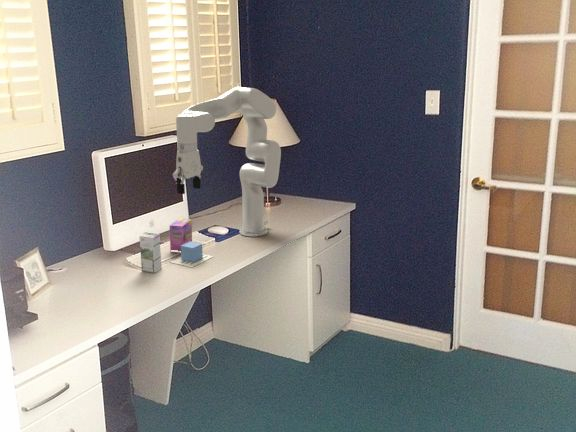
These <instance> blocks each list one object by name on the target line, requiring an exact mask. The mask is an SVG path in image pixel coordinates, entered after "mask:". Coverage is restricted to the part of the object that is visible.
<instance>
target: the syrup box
mask: <svg viewBox="0 0 576 432" xmlns="http://www.w3.org/2000/svg"><path fill="white" fill-rule="evenodd" d="M160 235H161V234H160V232H159V233H158V232H152V231H145V232H143V233H142V234H140V235H139V246H140V248H139V249H140V263H141V271H142V272H143V273H151V274H155V273H157V272H159V271H160V270H162V255H161V254H162V253H161V236H160Z"/></svg>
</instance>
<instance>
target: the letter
mask: <svg viewBox="0 0 576 432" xmlns="http://www.w3.org/2000/svg"><path fill="white" fill-rule="evenodd" d="M213 258H214V256H213V255H208V254H204V253H203V258H202V259H200V260H198V261H196V262H194V263H193V262H189V261H184V260H181V256H180V257H177V258H176V259H174V260H171V261H169V263H171V264H175V265H179V266H183V267H188V268H194V267H196V266H199V265H200V264H202V263H204V262H206V261H208V260H210V259H213Z"/></svg>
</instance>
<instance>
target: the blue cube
mask: <svg viewBox="0 0 576 432" xmlns="http://www.w3.org/2000/svg"><path fill="white" fill-rule="evenodd" d="M203 254H204V253H203V243H200V242H194V241H192V242H191V241H190V242H188V243H186V244H183V245H181V253H180V257H181V260H184V261H189V262H193V263H194V262H196V261H198V260H200V259H202V258H203Z"/></svg>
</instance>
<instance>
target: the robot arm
mask: <svg viewBox="0 0 576 432" xmlns="http://www.w3.org/2000/svg"><path fill="white" fill-rule="evenodd" d="M237 111H239V112H240V114H241V115H242V116H243V118H244V120H245V122H246V125H247V134H246V135H247V136H246V144H245V157H247V158H248V159H249V160H251V161H257V162H262V163H263V162H264V164H260V163H253V162H247V163H244V164H243V165H242V166H241V167H240V170H239V180H240V185H241V195H242V199H241V201H242V203H241V204H242V207H241V208H242V227H241V228H240V229H239V234H240V235H242V236H244V237H261V236H265V235H267V234H268V229H267V228H266V227H265V226H266V225H267V224H269V220H268V219H265V211H264V209H265V201H264V200H265V194H264V191H263V188H268V189H269V188H273V187H275V186H276V184H278V181H279V174H280V166H281V157H282V149H281V146H280V144H279V143H278V142H277V141H276V140H273V139H272V140H271V139H268V137H267V136H268V125H267V123H266V121H265V120H271V119H272V118H273V117H275V115H276V113H277V105H276V102H275V101H274V100H273V99H272V98H270V97H269V96H268V95H267V94H266V93H264V92H262V91H261V90H260V89H257V88H255V87H242V86H236V87H234V88H232V89H230V90H228V91H226V92H225V93H223V94H222V95H220V96H218V97H217V98H213V99H209V100H206V101H202V102H199V103H195V104H194V105H191V106H190V107H188V108H186V109H185V110H184V111H183V112H182V113H181V114H178V115H177V116H176V119H175V120H176V121H175V122H176V141H177V142H176V145H177V146H176V148H177V152H176V159H175V161H176V163H175V165H176V166H175V171H174V172H172V177H173V180H174V181H175V184H176V187H177V188H176V192H177V194H179V195H185V194H186V188H185V183H184V182H185V180H186V179H191V178H192V188H193V189H199V190H200V189H201V178H202V174H203V170H204V165H202V163H201V156H200V151H199V149H198V133H207V132H210V131H211V130H213V129H214V127H215V125H216V120H220V119H227V118H229V116H231V115H233V114H235V113H236V112H237Z"/></svg>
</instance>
